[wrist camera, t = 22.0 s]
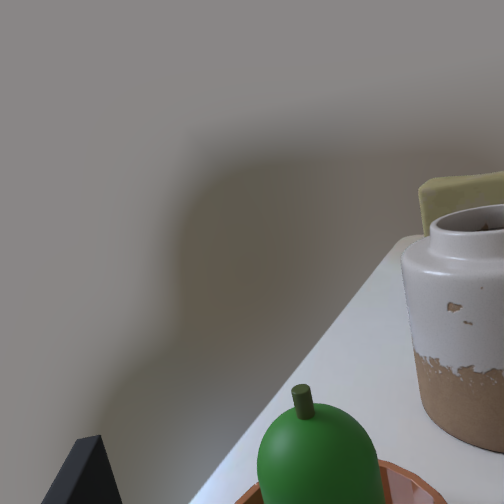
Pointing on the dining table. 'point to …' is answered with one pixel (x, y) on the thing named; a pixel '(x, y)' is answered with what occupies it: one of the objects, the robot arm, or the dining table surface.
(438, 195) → the cheese
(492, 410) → the vase
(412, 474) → the orange bowl
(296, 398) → the green pepper
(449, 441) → the dining table surface
